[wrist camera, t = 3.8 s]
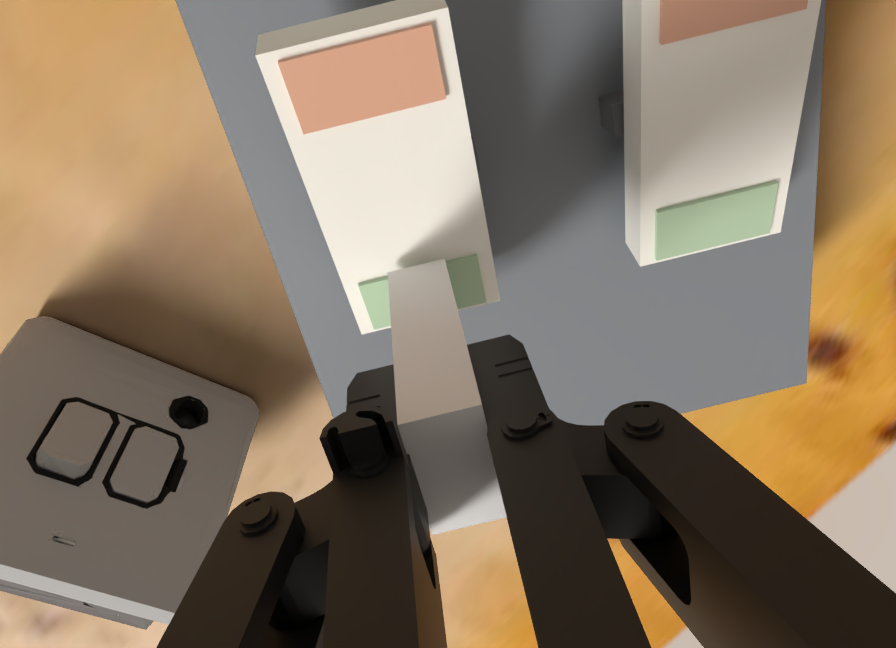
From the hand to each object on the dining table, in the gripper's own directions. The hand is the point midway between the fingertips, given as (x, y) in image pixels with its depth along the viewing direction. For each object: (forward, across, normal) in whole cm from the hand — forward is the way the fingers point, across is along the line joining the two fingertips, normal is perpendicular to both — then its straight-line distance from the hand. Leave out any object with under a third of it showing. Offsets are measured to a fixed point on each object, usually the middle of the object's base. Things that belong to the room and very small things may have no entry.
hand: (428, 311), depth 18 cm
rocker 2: (+1, +8, +3) cm, 9 cm away
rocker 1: (+1, 0, +3) cm, 3 cm away
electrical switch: (+9, -13, -6) cm, 17 cm away
